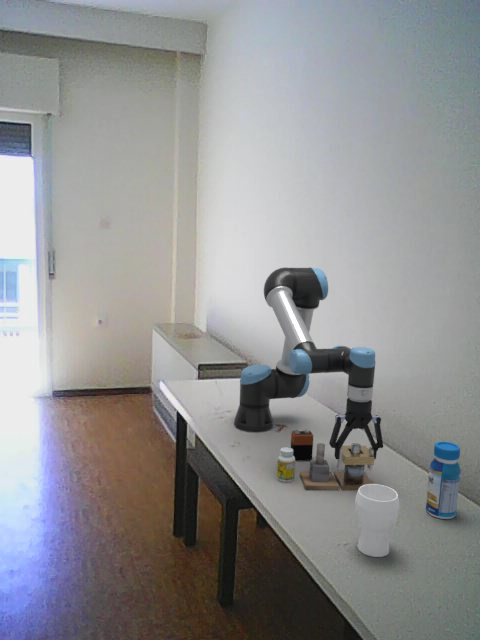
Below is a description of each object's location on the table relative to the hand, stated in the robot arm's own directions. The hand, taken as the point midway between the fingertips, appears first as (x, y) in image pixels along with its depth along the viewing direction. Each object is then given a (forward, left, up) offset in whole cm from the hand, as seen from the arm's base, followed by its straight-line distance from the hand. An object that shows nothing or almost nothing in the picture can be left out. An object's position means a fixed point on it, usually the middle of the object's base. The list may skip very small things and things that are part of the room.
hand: (354, 468), depth 183 cm
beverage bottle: (+19, +20, -5) cm, 28 cm away
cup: (+37, -5, -5) cm, 38 cm away
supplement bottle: (-3, -21, -5) cm, 22 cm away
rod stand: (0, -11, -5) cm, 12 cm away
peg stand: (0, 0, -5) cm, 5 cm away
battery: (-19, -13, -5) cm, 24 cm away
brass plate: (0, 0, +3) cm, 3 cm away
